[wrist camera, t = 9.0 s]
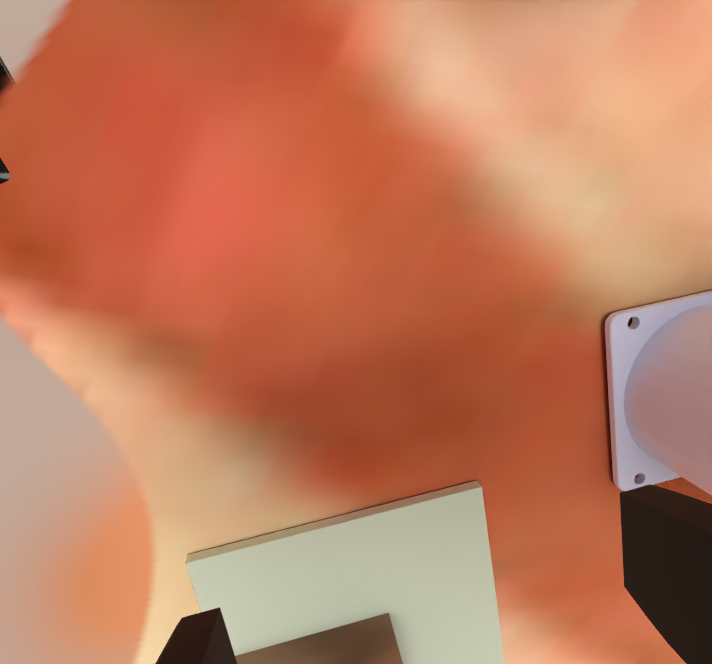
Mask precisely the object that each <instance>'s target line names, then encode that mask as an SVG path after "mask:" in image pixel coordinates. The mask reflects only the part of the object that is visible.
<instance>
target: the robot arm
mask: <svg viewBox="0 0 712 664" xmlns="http://www.w3.org/2000/svg"><path fill="white" fill-rule="evenodd" d="M631 317H632V319H633V321H632V324H631V325H630V326H629V327H628V321H629V319H630V318H631ZM605 340H606V358H607V376H608V395H609V413H610V431H611V449H612V468H613V481H614V484H615V485H616V486H617V487H618V488H619V489H621V490H622V491H625V492H621V493H620V505H621V526H622V546H623V567H624V587H625V588H626V589H627V591H628V592H629V593H630V595H631V596H632V597H633V599H634V600H635V601H636V603H637V604H638V605H639V607H640V608H641V609H642V611H643V612H644V613H645V615H646V616H647V617H648V619H649V620H650V621H651V622H652V624H653V625H654V626H655V628H656V629H657V630H658V631H659V633H660V634H661V635H662V636H663V638H664V639H665V640H666V641H667V643H668V644H669V645H670V646H671V647H672V648H673V649H674V650H675V652H676V653H677V654H678V655H679V656H680V657H681V658H682V659H683V660H684V661H685V662H686V663H687V664H712V504H709V503H706V502H703V501H701V500H698V499H695V498H692V497H689V496H686V495H683V494H680V493H677V492H674V491H671V490H668V489H664V488H661V487H658V486H654V484H657V483H661V482H665V481H668V480H672V479H676V478H679V477H682V478H684V479H686V480H687V481H689V482H690V483H692V484H694V485H695V486H697V487H699V488H700V489H702V490H703V491H705V492H707V493H708V494H710V495H711V496H712V290H711V291H707V292H702V293H698V294H693V295H689V296H684V297H680V298H675V299H671V300H667V301H662V302H658V303H653V304H649V305H644V306H640V307H635V308H631V309H626V310H622V311H617V312H614V313H612V314H611V315H609V316H608V318H607V320H606V321H605ZM637 474H638V476H637V478H635V476H636V475H637ZM156 664H237V661H236V658H235V655H234V651H233V648H232V645H231V642H230V638H229V635H228V632H227V628H226V625H225V622H224V619H223V615H222V612H221V609H220V607H219V608H215V609H212V610H208V611H205V612H201V613H198V614H194V615H191V616H187V617H184V618H182V619H181V620H180V622H179V623H178V625H177V626H176V628H175V630H174V631H173V633H172V635H171V637H170V638H169V640H168V642H167V644H166V646H165V647H164V649H163V651H162V653H161V655H160V656H159V658H158V660H157V662H156Z"/></svg>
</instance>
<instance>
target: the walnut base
mask: <svg viewBox="0 0 712 664" xmlns="http://www.w3.org/2000/svg"><path fill="white" fill-rule="evenodd" d="M235 658H236V661H237V664H403V662H402V658H401V655H400V651H399V648H398V644H397V641H396V637H395V634H394V630H393V626H392V623H391V619H390V616H389V613H385V614H382V615H378V616H375V617H371V618H368V619H364V620H361V621H357V622H354V623H350V624H346V625H343V626H339V627H336V628H332V629H329V630H325V631H322V632H318V633H315V634H311V635H308V636H304V637H300V638H297V639H293V640H290V641H286V642H283V643H279V644H276V645H272V646H269V647H265V648H262V649H258V650H255V651H251V652H247V653H244V654H240V655H237V656H235Z"/></svg>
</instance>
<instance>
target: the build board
mask: <svg viewBox="0 0 712 664" xmlns="http://www.w3.org/2000/svg"><path fill="white" fill-rule="evenodd" d="M186 566H187V570H188V573H189V576H190V579H191V582H192V585H193V589H194V592H195V595H196V598H197V601H198V604H199V608H200V611H201V612H205V611H208V610H212V609H215V608H219V607H220V609H221V612H222V615H223V619H224V622H225V625H226V628H227V632H228V635H229V638H230V642H231V645H232V648H233V651H234V655H235V656H237V655H240V654H244V653H247V652H251V651H255V650H258V649H262V648H265V647H269V646H272V645H276V644H279V643H283V642H286V641H290V640H293V639H297V638H300V637H304V636H308V635H311V634H315V633H318V632H322V631H325V630H329V629H332V628H336V627H339V626H343V625H346V624H350V623H354V622H357V621H361V620H364V619H368V618H371V617H375V616H378V615H382V614H385V613H389V616H390V619H391V623H392V626H393V630H394V634H395V637H396V641H397V644H398V648H399V651H400V655H401V658H402V662H403V664H505V661H504V653H503V645H502V638H501V630H500V622H499V615H498V607H497V599H496V592H495V584H494V576H493V569H492V561H491V554H490V546H489V538H488V531H487V523H486V515H485V508H484V500H483V492H482V486H481V485H480V484H479V482H478V481H477V480H476V481H473V482H469V483H465V484H461V485H457V486H453V487H449V488H445V489H441V490H438V491H434V492H430V493H426V494H422V495H418V496H414V497H410V498H406V499H402V500H399V501H395V502H391V503H387V504H383V505H379V506H375V507H371V508H367V509H364V510H360V511H356V512H352V513H348V514H344V515H340V516H336V517H332V518H329V519H325V520H321V521H317V522H313V523H309V524H305V525H301V526H297V527H294V528H290V529H286V530H282V531H278V532H274V533H270V534H266V535H262V536H259V537H255V538H251V539H247V540H243V541H239V542H235V543H231V544H227V545H223V546H220V547H216V548H212V549H208V550H204V551H200V552H196V553H192V554H188V556H187V560H186Z"/></svg>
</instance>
